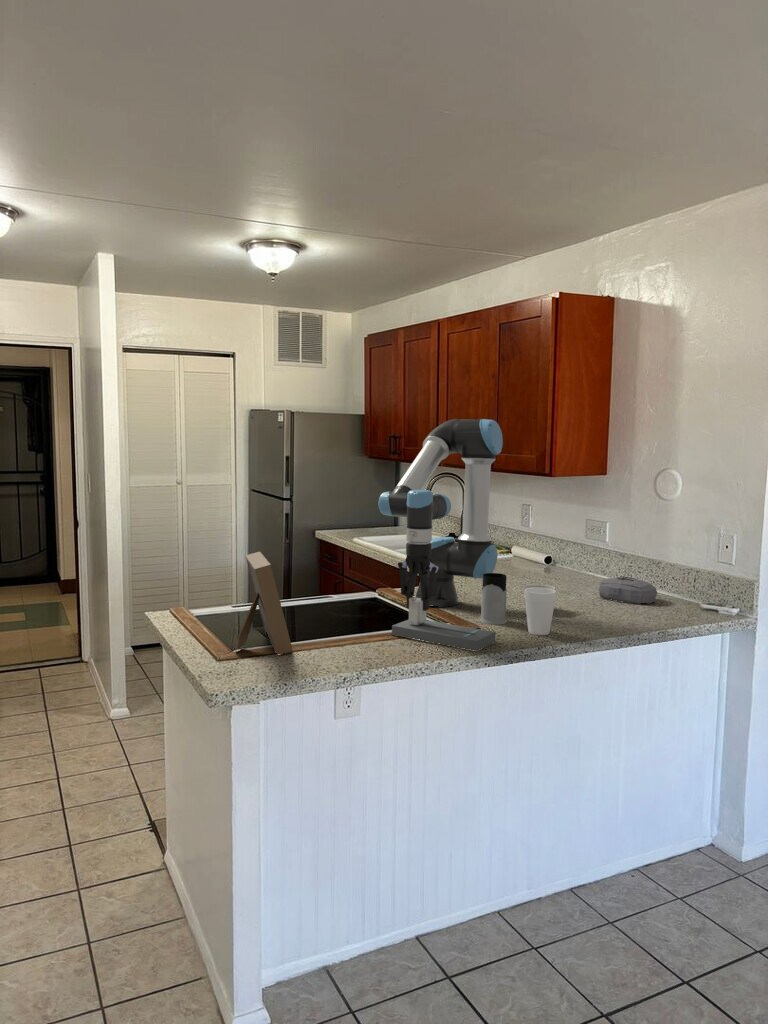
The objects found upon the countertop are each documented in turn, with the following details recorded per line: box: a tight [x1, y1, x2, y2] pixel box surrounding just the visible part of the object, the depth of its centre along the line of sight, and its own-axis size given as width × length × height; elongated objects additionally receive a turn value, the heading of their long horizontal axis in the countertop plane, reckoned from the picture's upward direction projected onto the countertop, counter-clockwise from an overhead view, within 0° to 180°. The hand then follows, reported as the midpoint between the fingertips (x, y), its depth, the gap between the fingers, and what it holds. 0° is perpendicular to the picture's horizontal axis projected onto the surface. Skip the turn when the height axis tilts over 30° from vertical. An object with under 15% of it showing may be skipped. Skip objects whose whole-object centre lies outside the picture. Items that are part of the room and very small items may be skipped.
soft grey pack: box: [598, 575, 658, 604], centre depth 283 cm, size 15×8×20 cm
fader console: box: [391, 618, 497, 651], centre depth 226 cm, size 28×12×3 cm, turn 56°
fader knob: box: [408, 598, 427, 625], centre depth 230 cm, size 3×5×7 cm, turn 146°
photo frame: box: [235, 551, 294, 655], centre depth 215 cm, size 15×22×25 cm
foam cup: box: [523, 587, 557, 636], centre depth 235 cm, size 10×9×13 cm
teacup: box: [522, 583, 556, 607], centre depth 265 cm, size 14×11×8 cm
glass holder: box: [479, 572, 508, 625], centre depth 250 cm, size 9×14×15 cm, turn 160°
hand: (417, 619), depth 231 cm, fingers closed on fader knob, 3 cm apart
